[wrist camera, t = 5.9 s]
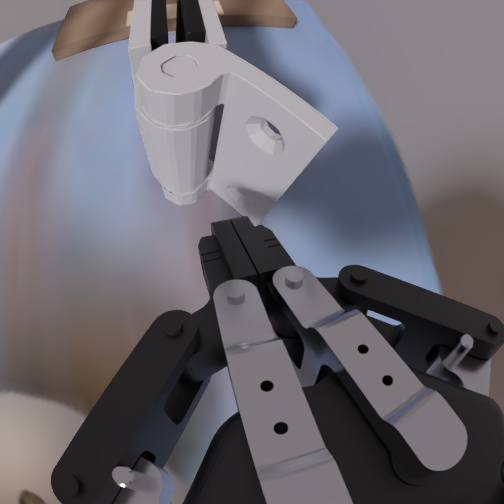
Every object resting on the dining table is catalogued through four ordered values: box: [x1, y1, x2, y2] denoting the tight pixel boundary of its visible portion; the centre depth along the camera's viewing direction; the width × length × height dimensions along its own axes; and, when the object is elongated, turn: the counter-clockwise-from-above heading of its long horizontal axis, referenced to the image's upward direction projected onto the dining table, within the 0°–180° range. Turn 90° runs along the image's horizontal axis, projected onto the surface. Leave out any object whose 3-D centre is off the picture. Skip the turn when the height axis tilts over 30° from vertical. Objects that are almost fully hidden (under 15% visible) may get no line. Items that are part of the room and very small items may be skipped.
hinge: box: [128, 0, 338, 226], centre depth 12 cm, size 14×5×10 cm, turn 25°
